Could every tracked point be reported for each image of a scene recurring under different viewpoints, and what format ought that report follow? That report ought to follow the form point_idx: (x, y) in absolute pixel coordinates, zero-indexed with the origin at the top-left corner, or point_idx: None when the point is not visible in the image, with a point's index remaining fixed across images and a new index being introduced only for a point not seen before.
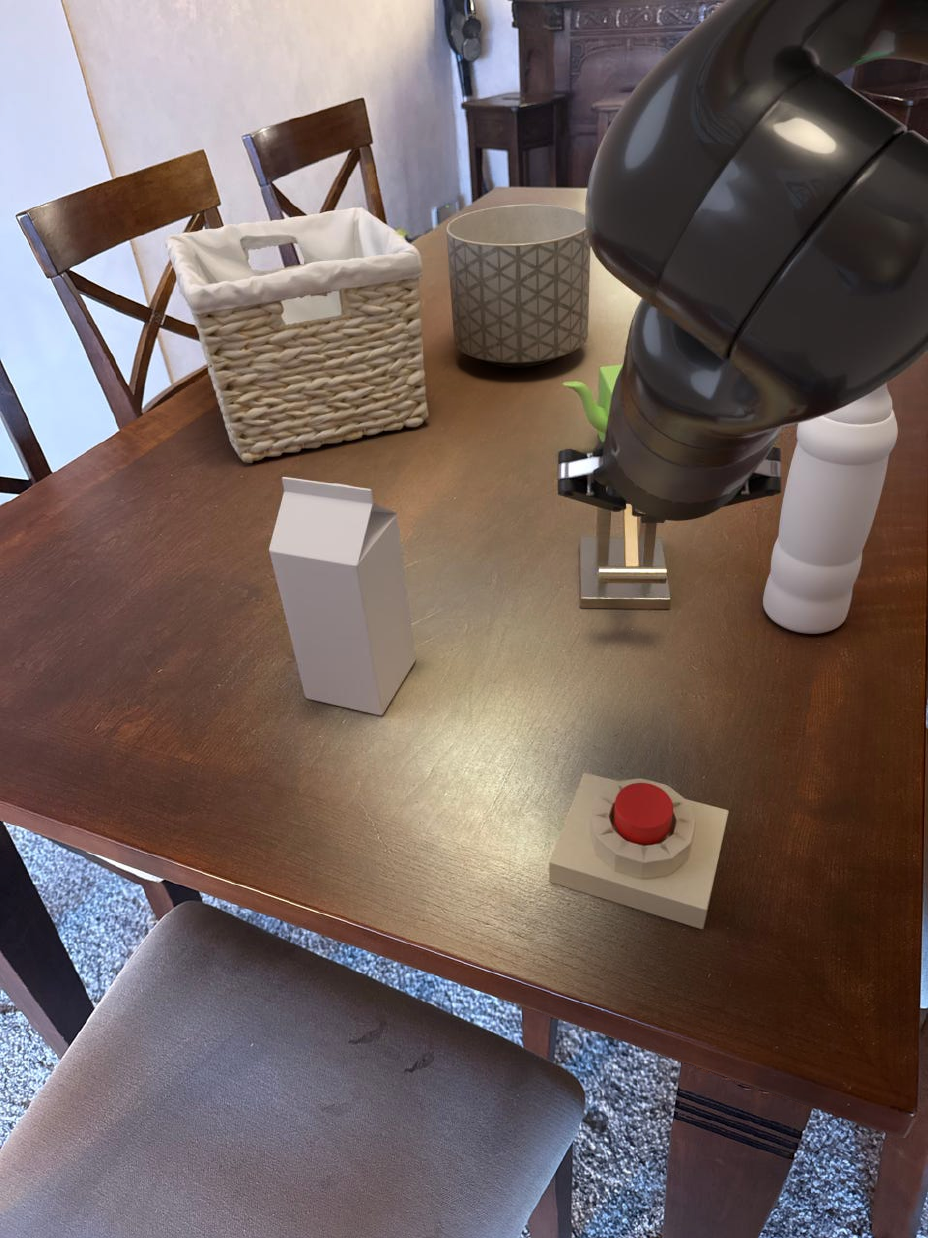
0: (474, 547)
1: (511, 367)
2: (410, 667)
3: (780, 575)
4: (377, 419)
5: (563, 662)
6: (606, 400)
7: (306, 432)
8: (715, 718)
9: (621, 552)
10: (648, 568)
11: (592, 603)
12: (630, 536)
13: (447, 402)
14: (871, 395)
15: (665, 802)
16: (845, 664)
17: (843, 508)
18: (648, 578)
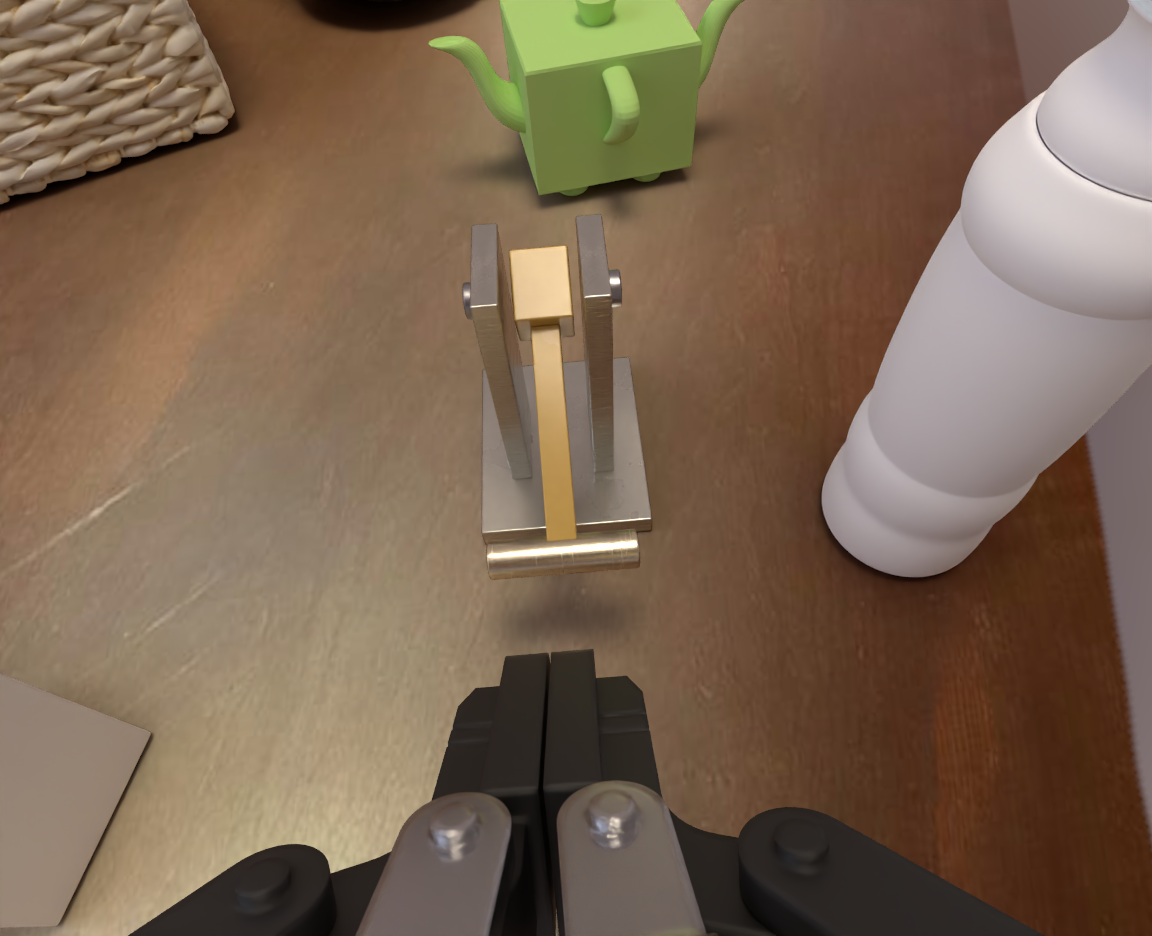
0: (296, 401)
1: (383, 1)
2: (134, 764)
3: (871, 494)
4: (138, 127)
5: (450, 703)
6: (516, 70)
7: (2, 167)
8: None
9: None
10: (597, 545)
11: (506, 537)
12: (553, 462)
13: (277, 77)
14: None
15: None
16: (989, 650)
17: (1069, 410)
18: (599, 567)
